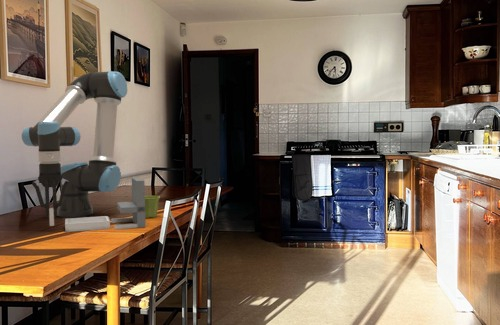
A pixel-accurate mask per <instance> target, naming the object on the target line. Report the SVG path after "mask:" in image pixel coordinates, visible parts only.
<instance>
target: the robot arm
mask: <svg viewBox="0 0 500 325" xmlns="http://www.w3.org/2000/svg"><path fill="white" fill-rule="evenodd" d="M125 78H126V77H125V76H124V75H123V73H121V72H119V71H112V70H109V71H98V72H97V71H95V72H94V71H93V72H86V73H84V74H82V75H80V76H78V77H77V78H75V79H74V80H73V81H71V82H70V84H69V85H67V87H66V88H65V90H64V93H63V95H62V96H61V97H60V98H58V100H57V101H56V102H55V103H54V104H53V105H52V106H51V108H50V109H49V110H48V111H47V112H46V113H45V114H44V115H43V116H42V117H41V118H40V120H38V122H37V123H36V124H35V125H34V126H33V127H32V126H30V127H26V128H24V129H23V130H22V131H21V140H22V142H23V144H24V145H26V146H27V147H38V162H39V164H38V173H39V174H38V178H37V179H36V180H34V181H32V183H31V184H32V186H33V188H34V189H35V192H36V196H37V198H38V202H39V206H40V208H44V209H45V216H46V218H48V219H49V227H53V226H55V217H60V218H61V217H62V218H79V217H87V216H91V215H93V214H94V208H93V205H92V203H91V199H90V196H89V192H92V193H93V192H94V193H96V192H97V193H99V192H100V193H109V192H113V191H115V190H116V189H117V188H118V186H119V184H120V183H121V178H122V172H121V169H120V167H119V166H118V165H117V161H116V160H115V159H114V154H115V153H114V150H115V137H116V128H117V127H116V125H117V112H118V106H119V105H120V104H121V103H122V98H125V97H126V96H127V94H128V84H127V83H128V82H127V80H126V79H125ZM90 99H93V101H94V102H95V103H96V105H97V106H96V116H95V127H94V128H95V130H94V142H93V153H92V154H93V155H92V157H91V158H90V159H89V160H88V161H82V162H75V163H67V164H63V165H61V163H60V162H61V147H73V146H77V145H78V144H79V143H80V141H81V136H82V135H81V132H80V130H79V129H78V128H76V127H72V126H62V125H63V124H64V122H66V120H67V119H68V118H69V117H70V115H72V113H73V112H74V111H75V109H77V107H78V106H79V105H82V104H85V102H86V101H87V100H90ZM40 184H41V185H42V186H43V187H44V194H45V195H44V196H45V198H44V199H45V202H44V199H43V195H42V193H41V189H40ZM59 185H60V195H59V198H58V200H57V187H58V186H59ZM50 188H52V207H50Z"/></svg>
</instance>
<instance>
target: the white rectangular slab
mask: <svg viewBox="0 0 500 325" xmlns="http://www.w3.org/2000/svg"><path fill="white" fill-rule="evenodd" d="M64 219H65V220H64V228H65V231H64V232H65V233H70V232H83V231H98V230H110V229H111V219H110V217H109V216H107V215H104V216H103V215H101V216H89V217H87V216H85V217H70V218H64Z"/></svg>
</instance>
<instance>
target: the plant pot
mask: <svg viewBox="0 0 500 325" xmlns="http://www.w3.org/2000/svg"><path fill="white" fill-rule="evenodd" d="M160 198H161V196H160V195H145V219H146V218H147V219H150V218H152V219H153V218H156V217H157V216H158V209H159V201H160Z"/></svg>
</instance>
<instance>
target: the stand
mask: <svg viewBox="0 0 500 325" xmlns="http://www.w3.org/2000/svg"><path fill="white" fill-rule="evenodd" d="M145 190H146V189H145V180H144V179H142V178H141V177H139V176H137V177H135V176H133V177H131V201H123V202H121V201H120V202H119V201H118V202H117V203H116V208H117V210H118V211H119V212H120V214H130V213H131V214H132V217H131V216H130V217H119V218H117V217H116V218H115V217H114V218H111V219H110V224H111V223H112V224H113V223H114V225H113V227H114V228H113V229H114V230H123V229H138V228H146V226H147V225H146V218H145V196H146V194H145V193H146V192H145ZM127 222H129V223H127ZM130 222H132V223H130ZM115 223H120V224H115ZM121 223H122V224H121ZM124 223H125V224H124Z"/></svg>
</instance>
